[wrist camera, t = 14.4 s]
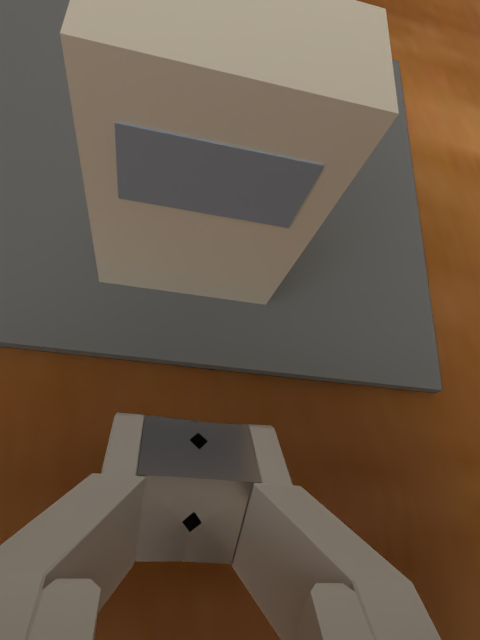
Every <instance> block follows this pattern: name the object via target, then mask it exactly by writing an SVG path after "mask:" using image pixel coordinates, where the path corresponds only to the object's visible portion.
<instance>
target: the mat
mask: <svg viewBox="0 0 480 640" xmlns="http://www.w3.org/2000/svg"><path fill="white" fill-rule="evenodd" d="M69 1H70V0H0V347H10V348H19V349H28V350H38V351H47V352H56V353H66V354H75V355H84V356H94V357H103V358H112V359H122V360H131V361H140V362H150V363H159V364H168V365H178V366H187V367H196V368H206V369H215V370H225V371H234V372H243V373H253V374H262V375H271V376H281V377H290V378H299V379H309V380H318V381H327V382H337V383H346V384H355V385H365V386H374V387H383V388H393V389H402V390H411V391H421V392H430V393H436V392H439V391H442V383H441V375H440V368H439V360H438V353H437V345H436V338H435V330H434V323H433V315H432V308H431V300H430V293H429V285H428V278H427V270H426V263H425V255H424V248H423V240H422V233H421V225H420V218H419V210H418V203H417V195H416V188H415V180H414V173H413V165H412V158H411V150H410V143H409V135H408V128H407V120H406V113H405V105H404V98H403V90H402V83H401V75H400V68H399V61H396V60H392V63H393V71H394V79H395V87H396V95H397V103H398V111H399V114H398V116H397V117H396V118H395V120H394V121H393V123H392V124H391V126H390V127H389V129H388V130H387V131H386V133H385V134H384V136H383V137H382V139H381V140H380V141H379V143H378V144H377V146H376V147H375V149H374V150H373V152H372V153H371V154H370V156H369V157H368V159H367V160H366V162H365V163H364V164H363V166H362V167H361V169H360V170H359V172H358V173H357V174H356V176H355V177H354V179H353V180H352V182H351V183H350V185H349V186H348V187H347V189H346V190H345V192H344V193H343V195H342V196H341V197H340V199H339V200H338V202H337V203H336V205H335V206H334V207H333V209H332V210H331V212H330V213H329V215H328V216H327V218H326V219H325V220H324V222H323V223H322V225H321V226H320V228H319V229H318V230H317V232H316V233H315V235H314V236H313V238H312V239H311V241H310V242H309V243H308V245H307V246H306V248H305V249H304V251H303V252H302V253H301V255H300V256H299V258H298V259H297V261H296V262H295V263H294V265H293V266H292V268H291V269H290V271H289V272H288V274H287V275H286V276H285V278H284V279H283V281H282V282H281V284H280V285H279V286H278V288H277V289H276V291H275V292H274V294H273V295H272V296H271V298H270V299H269V301H268V302H267V304H266V305H264V304H256V303H249V302H242V301H235V300H227V299H220V298H213V297H206V296H198V295H191V294H184V293H177V292H169V291H162V290H155V289H148V288H140V287H133V286H126V285H119V284H111V283H104V282H99V278H98V271H97V265H96V259H95V252H94V246H93V240H92V233H91V227H90V221H89V214H88V208H87V202H86V195H85V189H84V183H83V176H82V170H81V164H80V157H79V151H78V145H77V138H76V132H75V126H74V119H73V113H72V107H71V100H70V94H69V88H68V81H67V75H66V69H65V62H64V56H63V50H62V43H61V37H60V31H61V28H62V24H63V21H64V18H65V15H66V11H67V8H68V5H69Z"/></svg>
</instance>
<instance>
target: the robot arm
mask: <svg viewBox="0 0 480 640" xmlns="http://www.w3.org/2000/svg"><path fill="white" fill-rule="evenodd" d="M143 420H144V423H143ZM142 428H143V430H142ZM141 436H142V437H141ZM140 444H141V445H140ZM161 561H185V562H203V563H222V564H232V567H233V569H234V570H235V572H236V573H237V575H238V576H239V578H240V580H241V581H242V583H243V584H244V586H245V587H246V589H247V590H248V592H249V593H250V595H251V596H252V598H253V599H254V601H255V602H256V604H257V605H258V607H259V608H260V610H261V611H262V613H263V614H264V616H265V617H266V619H267V620H268V622H269V623H270V625H271V626H272V628H273V629H274V631H275V632H276V634H277V635H278V637H279V638H280V640H441V638H440V636H439V634H438V632H437V630H436V628H435V626H434V624H433V622H432V620H431V618H430V616H429V614H428V612H427V610H426V609H425V607H424V605H423V603H422V601H421V599H420V597H419V595H418V593H417V591H416V589H415V587H414V585H413V583H412V582H411V581H410V580H409V579H407V578H406V577H405V576H404V575H403V574H402V573H401V572H399V571H398V570H397V569H396V568H395V567H394V566H392V565H391V564H390V563H389V562H388V561H387V560H386V559H384V558H383V557H382V556H381V555H380V554H379V553H377V552H376V551H375V550H374V549H373V548H372V547H370V546H369V545H368V544H367V543H366V542H365V541H364V540H362V539H361V538H360V537H359V536H358V535H357V534H355V533H354V532H353V531H352V530H351V529H350V528H349V527H347V526H346V525H345V524H344V523H343V522H342V521H340V520H339V519H338V518H337V517H336V516H335V515H334V514H332V513H331V512H330V511H329V510H328V509H327V508H325V507H324V506H323V505H322V504H321V503H320V502H319V501H317V500H316V499H315V498H314V497H313V496H312V495H310V494H309V493H308V492H307V491H306V490H305V489H303V488H302V487H301V486H295V485H293V484H292V481H291V478H290V475H289V472H288V469H287V466H286V462H285V459H284V456H283V453H282V450H281V447H280V444H279V441H278V438H277V435H276V432H275V429H274V428H273V427H272V426H271V425H253V424H247V425H242V424H229V423H216V422H202V421H197V420H188V419H178V418H169V417H160V416H151V415H145V416H143V415H141V414H130V413H118V412H117V413H116V415H115V416H114V420H113V424H112V428H111V433H110V437H109V441H108V446H107V450H106V454H105V458H104V463H103V467H102V471H101V474H98V473H92V474H90V475H89V476H88V477H87V478H85V479H84V480H83V481H82V482H80V483H79V484H78V485H76V486H75V487H74V488H73V489H71V490H70V491H69V492H67V493H66V494H65V495H64V496H62V497H61V498H60V499H59V500H57V501H56V502H55V503H53V504H52V505H51V506H50V507H48V508H47V509H46V510H44V511H43V512H42V513H41V514H39V515H38V516H37V517H36V518H34V519H33V520H32V521H30V522H29V523H28V524H27V525H25V526H24V527H23V528H22V529H20V530H19V531H18V532H16V533H15V534H14V535H13V536H11V537H10V538H9V539H7V540H6V541H5V542H4V543H2V544H1V545H0V640H95V636H96V627H97V618H98V613H99V611H100V610H101V609H102V607H103V606H104V605H105V603H106V602H107V601H108V599H109V598H110V596H111V595H112V594H113V592H114V591H115V590H116V588H117V587H118V586H119V584H120V583H121V581H122V580H123V579H124V577H125V576H126V575H127V573H128V572H129V570H130V569H131V568H132V566H133V565H134V562H161Z"/></svg>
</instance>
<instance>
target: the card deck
mask: <svg viewBox="0 0 480 640" xmlns="http://www.w3.org/2000/svg"><path fill="white" fill-rule="evenodd" d="M60 37H61V43H62V50H63V56H64V62H65V69H66V75H67V81H68V88H69V94H70V100H71V107H72V113H73V119H74V126H75V132H76V138H77V145H78V151H79V157H80V164H81V170H82V176H83V183H84V189H85V195H86V202H87V208H88V214H89V221H90V227H91V233H92V240H93V246H94V252H95V259H96V265H97V271H98V278H99V282H104V283H111V284H119V285H126V286H133V287H140V288H148V289H155V290H162V291H169V292H177V293H184V294H191V295H198V296H206V297H213V298H220V299H227V300H235V301H242V302H249V303H256V304H264V305H266V304H267V302H268V301H269V299H270V298H271V296H272V295H273V294H274V292H275V291H276V289H277V288H278V286H279V285H280V284H281V282H282V281H283V279H284V278H285V276H286V275H287V274H288V272H289V271H290V269H291V268H292V266H293V265H294V263H295V262H296V261H297V259H298V258H299V256H300V255H301V253H302V252H303V251H304V249H305V248H306V246H307V245H308V243H309V242H310V241H311V239H312V238H313V236H314V235H315V233H316V232H317V230H318V229H319V228H320V226H321V225H322V223H323V222H324V220H325V219H326V218H327V216H328V215H329V213H330V212H331V210H332V209H333V207H334V206H335V205H336V203H337V202H338V200H339V199H340V197H341V196H342V195H343V193H344V192H345V190H346V189H347V187H348V186H349V185H350V183H351V182H352V180H353V179H354V177H355V176H356V174H357V173H358V172H359V170H360V169H361V167H362V166H363V164H364V163H365V162H366V160H367V159H368V157H369V156H370V154H371V153H372V152H373V150H374V149H375V147H376V146H377V144H378V143H379V141H380V140H381V139H382V137H383V136H384V134H385V133H386V131H387V130H388V129H389V127H390V126H391V124H392V123H393V121H394V120H395V118H396V117H397V116H398V114H399V111H398V103H397V95H396V87H395V79H394V71H393V63H392V55H391V47H390V39H389V32H388V24H387V16H386V9H384V8H381V7H377V6H374V5H370V4H367V3H363V2H360V1H356V0H70V1H69V5H68V8H67V11H66V15H65V18H64V21H63V24H62V28H61V31H60Z"/></svg>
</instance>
